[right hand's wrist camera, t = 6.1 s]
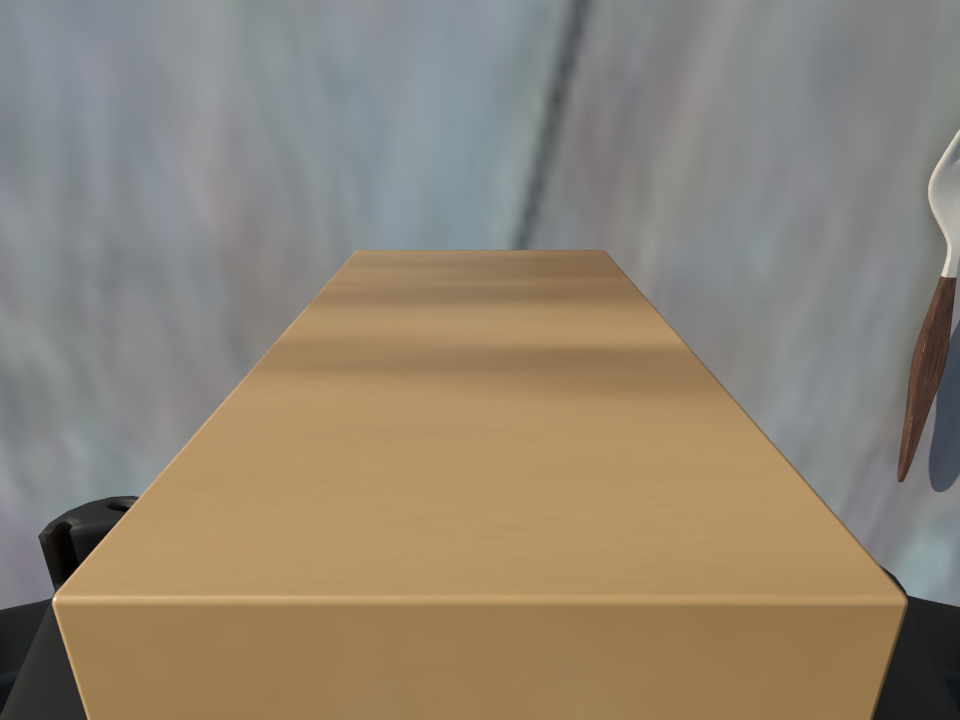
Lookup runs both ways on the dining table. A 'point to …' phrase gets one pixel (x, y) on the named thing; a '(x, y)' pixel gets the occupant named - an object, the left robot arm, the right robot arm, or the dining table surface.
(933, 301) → the fork
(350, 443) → the box
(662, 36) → the dining table surface
